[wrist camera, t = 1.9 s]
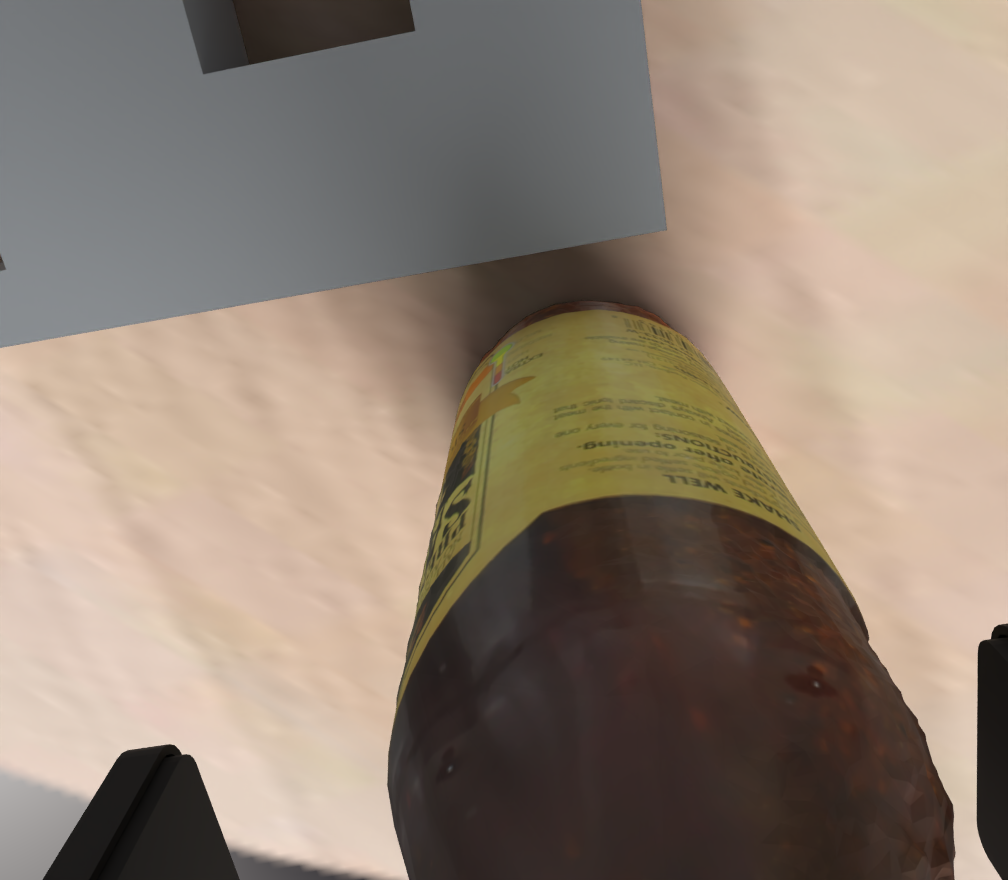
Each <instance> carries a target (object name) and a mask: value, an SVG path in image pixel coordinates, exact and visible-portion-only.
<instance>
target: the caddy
mask: <svg viewBox="0 0 1008 880" xmlns="http://www.w3.org/2000/svg"><path fill="white" fill-rule="evenodd" d="M409 1H410V6H411V11H412V16H413V21H414V26H415V31H413V32H408V33H403V34H398V35H393V36H388V37H383V38H378V39H374V40H369V41H364V42H359V43H354V44H349V45H344V46H339V47H335V48H330V49H325V50H320V51H315V52H310V53H305V54H300V55H295V56H291V57H286V58H281V59H276V60H271V61H266V62H261V63H256V64H252V65H249V61H248V57H247V54H246V50H245V46H244V42H243V38H242V34H241V31H240V27H239V23H238V19H237V15H236V11H235V8H234V4H233V0H0V254H1V257H2V260H3V261H2V262H0V348H2V347H8V346H13V345H19V344H25V343H30V342H36V341H42V340H47V339H53V338H59V337H64V336H70V335H76V334H81V333H87V332H93V331H98V330H104V329H110V328H115V327H121V326H127V325H132V324H138V323H144V322H149V321H155V320H161V319H166V318H172V317H178V316H183V315H189V314H195V313H200V312H206V311H212V310H217V309H223V308H229V307H234V306H240V305H246V304H251V303H257V302H263V301H268V300H274V299H280V298H285V297H291V296H296V295H302V294H308V293H313V292H319V291H325V290H330V289H336V288H342V287H347V286H353V285H359V284H364V283H370V282H376V281H381V280H387V279H393V278H398V277H404V276H410V275H415V274H421V273H427V272H432V271H438V270H444V269H449V268H455V267H461V266H466V265H472V264H478V263H483V262H489V261H495V260H500V259H506V258H512V257H517V256H523V255H529V254H534V253H540V252H546V251H551V250H557V249H563V248H568V247H574V246H580V245H585V244H591V243H597V242H602V241H608V240H614V239H619V238H625V237H631V236H636V235H642V234H647V233H653V232H659V231H664V230H667V227H666V218H665V209H664V201H663V192H662V183H661V174H660V166H659V157H658V148H657V139H656V130H655V122H654V113H653V104H652V95H651V86H650V78H649V69H648V60H647V51H646V43H645V34H644V25H643V16H642V7H641V0H409Z"/></svg>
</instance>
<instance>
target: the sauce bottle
mask: <svg viewBox="0 0 1008 880" xmlns="http://www.w3.org/2000/svg"><path fill="white" fill-rule="evenodd" d="M868 641H869V635H868V630H867V628H866V625H865V622H864V619H863V617H862V614H861V612H860V610H859V607H858V605H857V603H856V601H855V598H854V597H853V595H852V593H851V592H850V590H849V588H848V587H847V585H846V584H845V582H844V580H843V579H842V577H841V575H840V574H839V572H838V570H837V569H836V567H835V565H834V564H833V562H832V560H831V559H830V557H829V555H828V554H827V552H826V550H825V549H824V547H823V545H822V544H821V542H820V540H819V539H818V537H817V536H816V534H815V532H814V531H813V529H812V527H811V526H810V524H809V523H808V521H807V519H806V518H805V516H804V514H803V513H802V511H801V510H800V508H799V506H798V505H797V503H796V501H795V500H794V498H793V497H792V495H791V493H790V492H789V490H788V488H787V487H786V485H785V483H784V482H783V480H782V479H781V477H780V475H779V474H778V472H777V470H776V469H775V467H774V465H773V464H772V462H771V460H770V459H769V457H768V455H767V454H766V452H765V450H764V449H763V447H762V445H761V444H760V442H759V440H758V439H757V437H756V436H755V434H754V432H753V431H752V429H751V427H750V426H749V424H748V423H747V421H746V419H745V418H744V416H743V414H742V413H741V411H740V410H739V408H738V406H737V405H736V403H735V401H734V400H733V398H732V396H731V395H730V393H729V392H728V390H727V389H726V387H725V385H724V384H723V382H722V381H721V379H720V378H719V376H718V375H717V373H716V372H715V370H714V369H713V368H712V366H711V365H710V364H709V362H708V361H707V360H706V358H705V357H704V356H703V354H702V353H701V352H700V351H699V350H698V349H697V348H696V347H695V346H694V345H693V344H692V343H691V342H690V341H689V340H688V339H687V338H685V337H684V336H682V335H681V334H679V333H678V332H676V331H674V330H673V329H671V328H670V327H669V325H668V324H666V323H664V322H663V321H662V319H661V318H660V317H658V316H657V315H655V314H653V313H650V312H647V311H645V310H644V309H642V308H640V307H638V306H628V305H624V304H620V303H614V302H599V301H592V300H591V301H582V300H581V301H576V302H570V303H562V304H556V305H552V306H550V307H548V308H545V309H542V310H539V311H537V312H536V313H533V314H531V315H529V316H527V317H526V318H524V319H523V320H522V321H521V322H519V323H518V324H516V325H515V326H514V327H513V328H511V329H510V330H509V331H508V332H507V333H506V334H505V336H504V337H503V338H501V339H500V340H499V342H498V343H497V344H496V346H495V347H494V348H492V349H491V350H490V351H489V352H487V353H486V354H485V355H484V357H483V358H482V360H481V362H480V364H479V366H478V367H477V369H476V370H475V372H474V373H473V375H472V377H471V379H470V381H469V383H468V385H467V387H466V389H465V391H464V394H463V396H462V398H461V401H460V404H459V408H458V411H457V415H456V421H455V426H454V430H453V435H452V440H451V445H450V449H449V454H448V459H447V464H446V469H445V474H444V479H443V484H442V489H441V493H440V496H439V499H438V502H437V505H436V514H435V522H434V527H433V530H432V533H431V538H430V543H429V548H428V552H427V557H426V561H425V564H424V570H423V575H422V579H421V582H420V586H419V596H418V603H417V610H416V616H415V621H414V625H413V629H412V632H411V635H410V638H409V641H408V646H407V653H406V663H405V667H404V672H403V675H402V678H401V682H400V685H399V690H398V695H397V708H396V713H395V718H394V724H393V729H392V735H391V741H390V747H389V754H388V783H387V786H388V792H389V798H390V804H391V810H392V816H393V822H394V827H395V831H396V834H397V838H398V841H399V845H400V848H401V852H402V856H403V859H404V863H405V866H406V870H407V873H408V877H409V880H954V863H953V861H954V857H955V846H954V838H953V836H954V832H953V822H954V812H953V804H952V802H951V801H950V799H949V797H948V795H947V793H946V791H945V790H944V787H943V785H942V782H941V780H940V778H939V776H938V773H937V770H936V768H935V766H934V764H933V762H932V759H931V756H930V752H929V749H928V746H927V742H926V736H925V733H924V732H923V730H922V729H921V727H920V726H919V724H918V719H917V718H916V717H915V715H914V714H913V713H912V711H911V710H910V709H909V708H908V706H907V705H906V704H905V702H904V700H903V697H902V694H901V691H900V690H899V689H898V688H897V686H896V685H895V684H894V683H893V681H892V679H891V677H890V675H889V673H888V671H887V669H886V668H885V667H884V665H883V664H882V663H881V662H880V660H879V658H878V656H877V655H876V653H875V652H874V651H873V650H872V648H871V647H870V645H869V643H868Z"/></svg>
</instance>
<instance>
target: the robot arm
mask: <svg viewBox="0 0 1008 880" xmlns="http://www.w3.org/2000/svg"><path fill="white" fill-rule="evenodd" d="M977 828H978V833H979V837H980V840H981V843H982V846H983V848H984V850H985V853H986V854H987V856H988V858H989V860H990V861H991V863H992V864H993V866H994V868H995V869H996V871H997V872H998V874H999V875H1000V877H1001V879H1002V880H1008V624H1002V625H998V626H996V627H995V628H994V630H993V632H992V636H991V639H990V640H983V641H982V642H980V644H979V647H978V706H977ZM43 880H240V879H239V877H238V874H237V871H236V869H235V866H234V864H233V861H232V858H231V856H230V853H229V850H228V847H227V845H226V842H225V839H224V837H223V834H222V831H221V829H220V826H219V823H218V821H217V818H216V815H215V812H214V810H213V807H212V804H211V802H210V799H209V796H208V794H207V791H206V788H205V786H204V783H203V780H202V778H201V775H200V772H199V770H198V767H197V764H196V762H195V760H194V758H193V757H192V756H191V755H187V754H185V755H182V754H181V752H180V750H179V749H178V748H177V747H176V746H175V745H170V744H169V745H162V746H155V747H148V748H141V749H134V750H128V751H125V752H123V753H122V754H121V755H120V756H119V757H118V759H117V760H116V762H115V763H114V765H113V767H112V768H111V770H110V771H109V773H108V775H107V776H106V778H105V779H104V781H103V783H102V784H101V786H100V788H99V789H98V791H97V792H96V794H95V796H94V797H93V799H92V801H91V802H90V804H89V806H88V807H87V809H86V810H85V812H84V813H83V815H82V817H81V818H80V820H79V822H78V823H77V825H76V827H75V828H74V830H73V831H72V833H71V834H70V836H69V838H68V839H67V841H66V843H65V844H64V846H63V847H62V849H61V851H60V852H59V854H58V856H57V857H56V859H55V861H54V862H53V864H52V865H51V867H50V868H49V870H48V872H47V874H46V875H45V877H44V878H43Z"/></svg>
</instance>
